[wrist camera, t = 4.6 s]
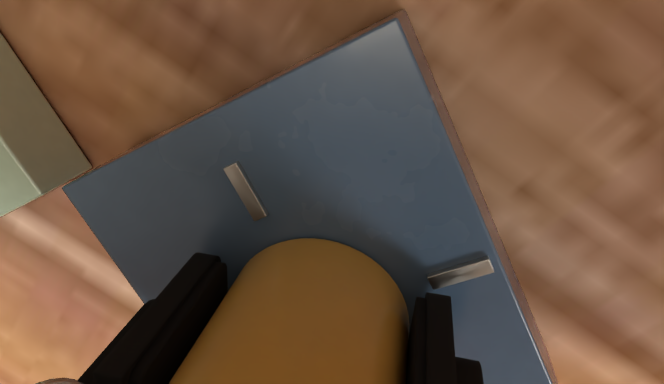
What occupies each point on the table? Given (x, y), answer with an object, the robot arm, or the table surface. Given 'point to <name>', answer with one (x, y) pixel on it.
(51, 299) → the table surface
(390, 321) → the valve knob
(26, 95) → the green button base
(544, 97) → the table surface
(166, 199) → the valve panel
